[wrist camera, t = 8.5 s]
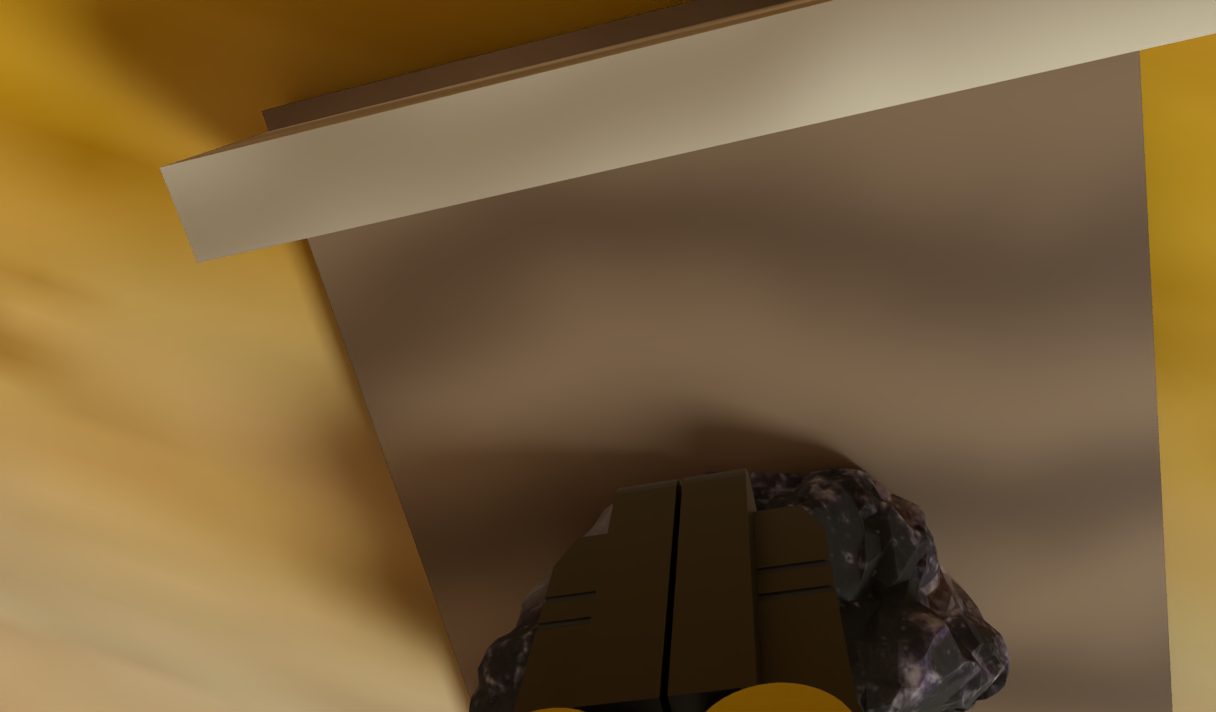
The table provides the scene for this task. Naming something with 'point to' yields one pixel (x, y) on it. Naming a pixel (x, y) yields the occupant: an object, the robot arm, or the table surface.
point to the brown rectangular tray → (758, 293)
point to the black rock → (843, 603)
